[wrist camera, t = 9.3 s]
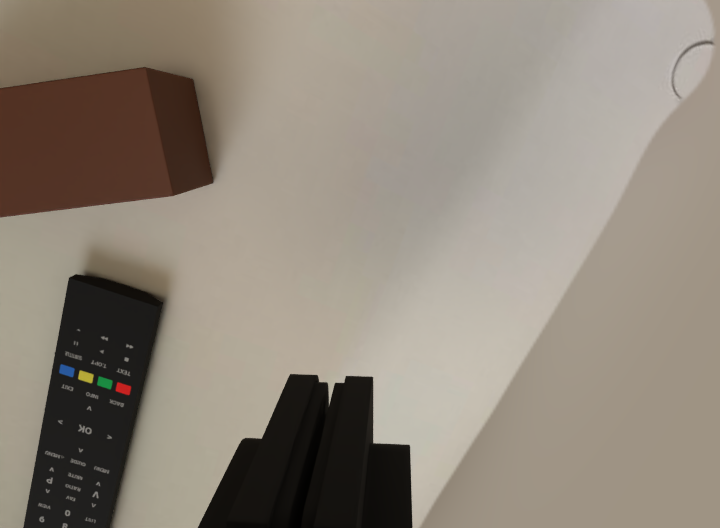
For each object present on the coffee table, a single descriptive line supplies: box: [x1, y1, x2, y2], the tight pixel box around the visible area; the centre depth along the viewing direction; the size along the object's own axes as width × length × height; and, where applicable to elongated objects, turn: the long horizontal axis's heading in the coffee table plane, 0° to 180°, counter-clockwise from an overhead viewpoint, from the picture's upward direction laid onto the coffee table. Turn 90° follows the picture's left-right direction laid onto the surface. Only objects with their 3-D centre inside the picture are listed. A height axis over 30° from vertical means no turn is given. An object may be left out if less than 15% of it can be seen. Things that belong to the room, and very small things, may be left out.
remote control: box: [24, 274, 163, 528], centre depth 33 cm, size 5×24×1 cm, turn 162°
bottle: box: [0, 67, 213, 217], centre depth 26 cm, size 6×6×18 cm
